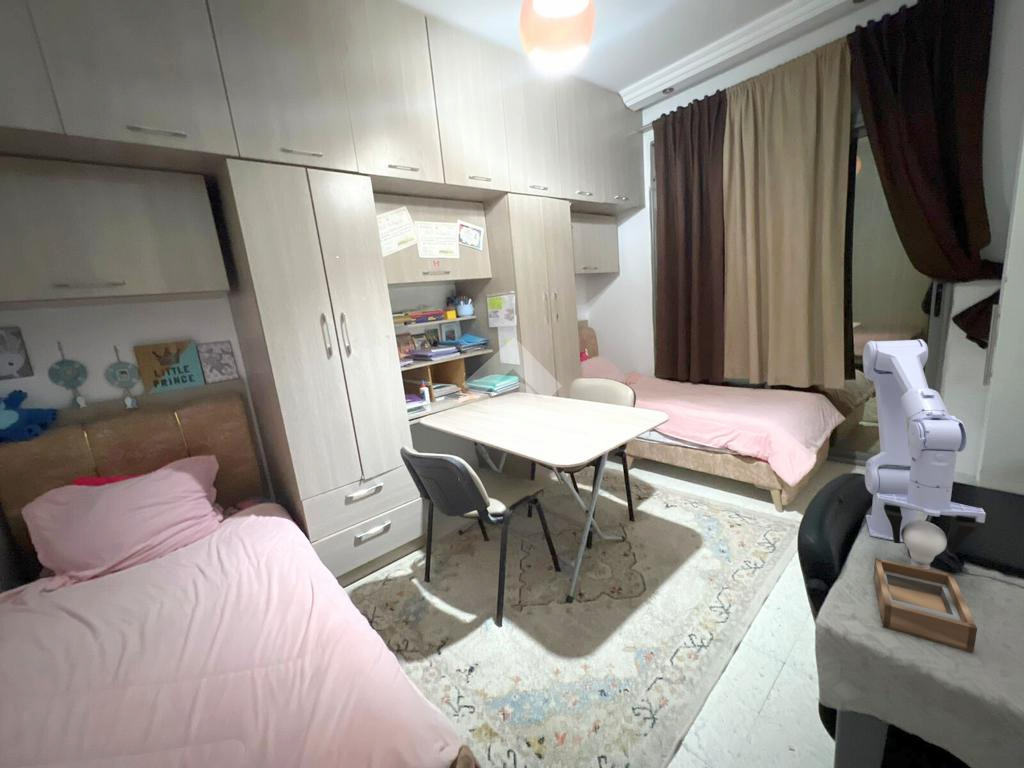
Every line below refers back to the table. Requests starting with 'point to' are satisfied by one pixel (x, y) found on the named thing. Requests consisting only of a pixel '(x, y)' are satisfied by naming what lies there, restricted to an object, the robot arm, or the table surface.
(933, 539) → the lightbulb
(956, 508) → the robot arm
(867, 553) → the table surface
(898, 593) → the socket box
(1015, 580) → the table surface
